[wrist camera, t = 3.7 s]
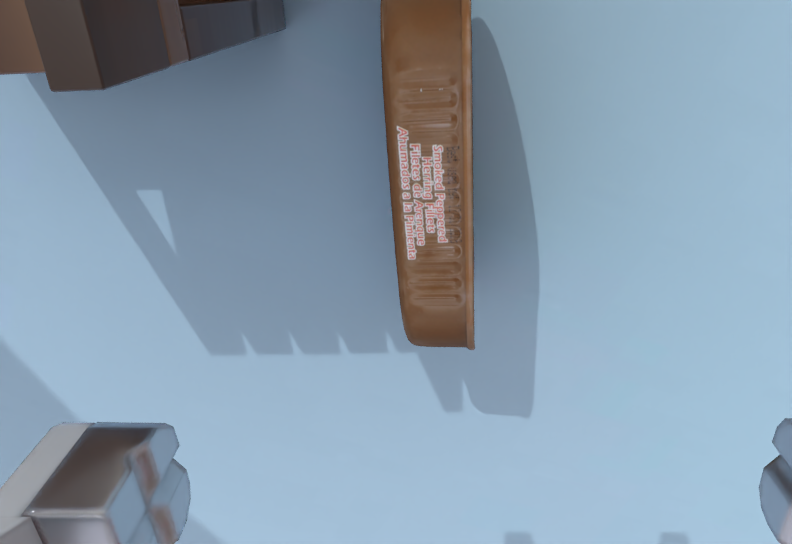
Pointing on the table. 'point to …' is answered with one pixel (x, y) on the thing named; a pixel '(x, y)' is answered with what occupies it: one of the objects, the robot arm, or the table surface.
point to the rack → (123, 36)
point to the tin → (431, 165)
